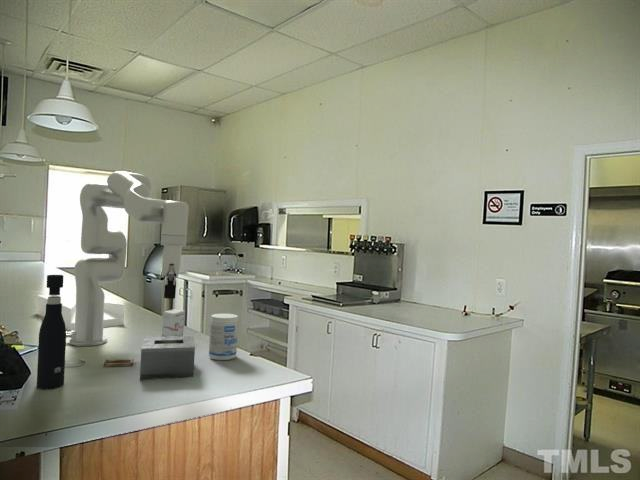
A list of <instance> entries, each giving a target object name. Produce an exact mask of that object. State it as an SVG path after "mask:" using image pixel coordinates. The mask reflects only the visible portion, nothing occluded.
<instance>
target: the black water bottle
mask: <svg viewBox="0 0 640 480" xmlns="http://www.w3.org/2000/svg"><path fill="white" fill-rule="evenodd" d="M46 288H48V290H49V291H48V296H50V297H48V299H47V300H48V301H47V302H48V303H47V304H46V314H45V317H43V318H42V319H43V320H42V321H41V325H40V328H39V332H38V349H37V351H38V352H37V366H36V367H37V369H36V370H37V371H36V389H38V390H54V389H58V388H61V387H63V386H64V385H65V369H66V367H65V366H66V345H67V344H66V343H67V338H66V332H67V329H66V327H65V322H64V319H63V316H62V303H61V298H62V296H60V295H61V289H62V288H64V275H63V274H48V275H46Z"/></svg>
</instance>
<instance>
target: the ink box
mask: <svg viewBox="0 0 640 480" xmlns="http://www.w3.org/2000/svg"><path fill="white" fill-rule="evenodd" d="M185 314H186V310H183V309H175V308H174V309H170V310H165V311H163V315H162V316H163V317H162V328H161V336H184V330H185V328H184V327H185Z"/></svg>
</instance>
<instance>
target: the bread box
mask: <svg viewBox="0 0 640 480" xmlns="http://www.w3.org/2000/svg"><path fill="white" fill-rule="evenodd" d="M36 297H37V298H36V315H38V316H40V317H42V318H44V317H45V314H46V304H47V303H48V302H47V301H48V300H47V299H48V297H50V295H41V294H37V296H36ZM61 303H62V316H63V319H64V322H65V327H66V330H68V331H69V332H71V331H74V330H75V312H76V298H68V297H61ZM125 305H126V304H123V303H120V302H117V301H115V300H112V299H111V300H110V299H108V298H105V299H104V321H103V328H106V327H113V326H115V327H116V326H123V325H124V323H125Z"/></svg>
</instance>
